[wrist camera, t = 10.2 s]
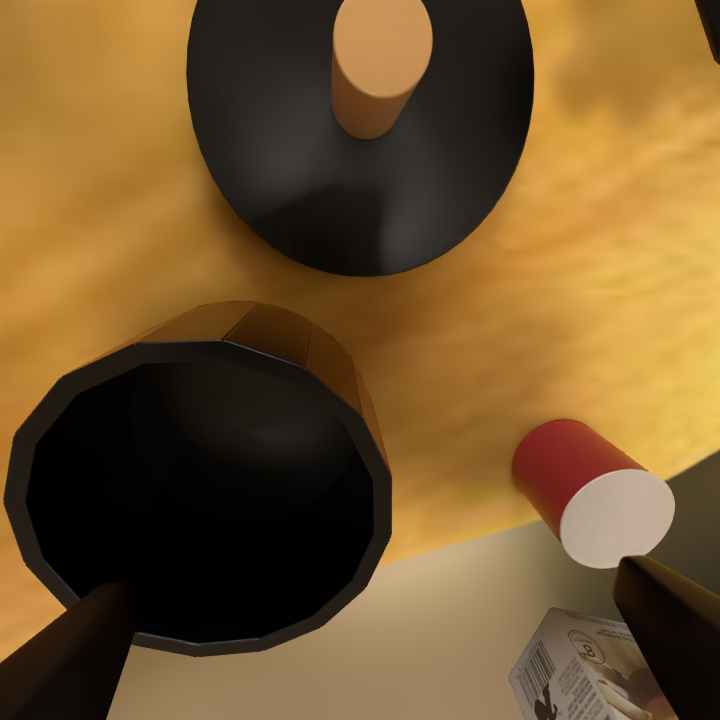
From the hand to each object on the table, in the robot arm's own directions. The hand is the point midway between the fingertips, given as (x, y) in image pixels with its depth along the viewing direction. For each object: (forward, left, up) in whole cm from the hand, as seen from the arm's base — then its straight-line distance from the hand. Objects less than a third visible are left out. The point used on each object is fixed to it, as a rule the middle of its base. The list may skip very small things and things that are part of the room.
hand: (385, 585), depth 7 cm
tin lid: (-11, +1, -11) cm, 15 cm away
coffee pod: (+5, +10, -11) cm, 16 cm away
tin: (+2, -5, -11) cm, 12 cm away
